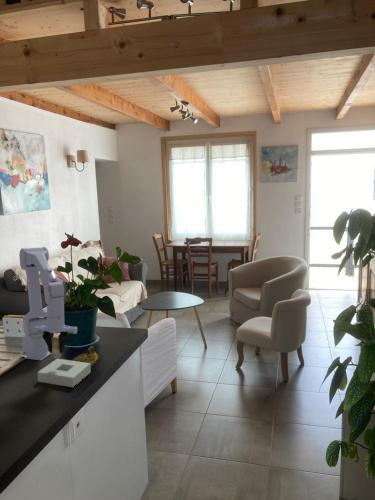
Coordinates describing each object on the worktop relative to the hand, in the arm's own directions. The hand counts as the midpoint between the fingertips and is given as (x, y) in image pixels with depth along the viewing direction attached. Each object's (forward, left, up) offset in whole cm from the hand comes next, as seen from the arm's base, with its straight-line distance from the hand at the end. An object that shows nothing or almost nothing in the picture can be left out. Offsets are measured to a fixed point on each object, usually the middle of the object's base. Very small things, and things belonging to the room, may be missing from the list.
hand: (56, 351), depth 142 cm
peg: (0, 0, -2) cm, 2 cm away
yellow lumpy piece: (+3, +15, -10) cm, 18 cm away
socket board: (+3, +1, -10) cm, 10 cm away
